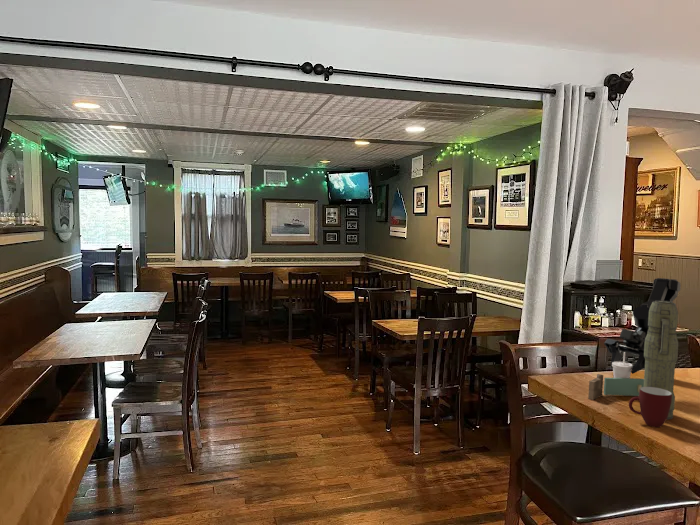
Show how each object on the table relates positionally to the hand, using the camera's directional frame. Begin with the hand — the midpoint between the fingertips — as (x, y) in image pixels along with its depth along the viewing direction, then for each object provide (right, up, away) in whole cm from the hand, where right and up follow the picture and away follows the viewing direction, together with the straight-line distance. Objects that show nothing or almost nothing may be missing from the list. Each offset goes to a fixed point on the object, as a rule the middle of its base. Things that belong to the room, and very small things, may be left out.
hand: (621, 370), depth 174 cm
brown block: (-5, -8, +2) cm, 10 cm away
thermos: (+1, -10, -19) cm, 21 cm away
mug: (-7, -10, -27) cm, 30 cm away
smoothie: (+1, -8, +2) cm, 8 cm away
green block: (0, -8, -2) cm, 8 cm away
